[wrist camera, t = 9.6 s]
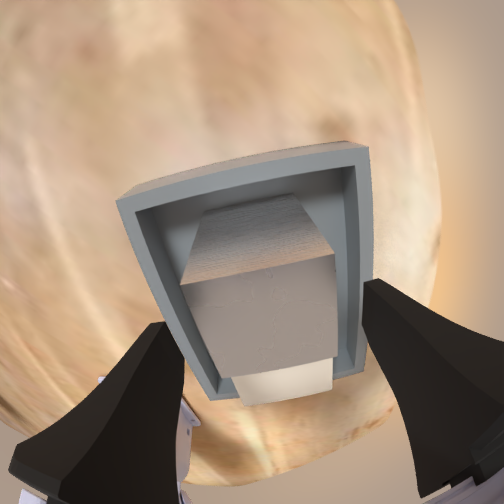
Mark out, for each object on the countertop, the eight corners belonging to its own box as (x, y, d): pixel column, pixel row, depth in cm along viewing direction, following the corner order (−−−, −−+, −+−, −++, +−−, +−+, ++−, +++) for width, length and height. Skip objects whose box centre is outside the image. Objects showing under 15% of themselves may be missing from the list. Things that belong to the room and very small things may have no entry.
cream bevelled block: (319, 348, 20) (332, 389, 16) (242, 363, 20) (244, 406, 17) (316, 299, 18) (332, 342, 14) (226, 316, 18) (224, 362, 14)
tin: (303, 269, 16) (337, 356, 10) (225, 285, 17) (221, 378, 10) (292, 192, 14) (334, 253, 8) (203, 211, 15) (180, 285, 8)
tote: (352, 344, 21) (363, 371, 18) (211, 372, 22) (210, 400, 19) (345, 140, 14) (368, 146, 11) (136, 185, 14) (115, 200, 12)
